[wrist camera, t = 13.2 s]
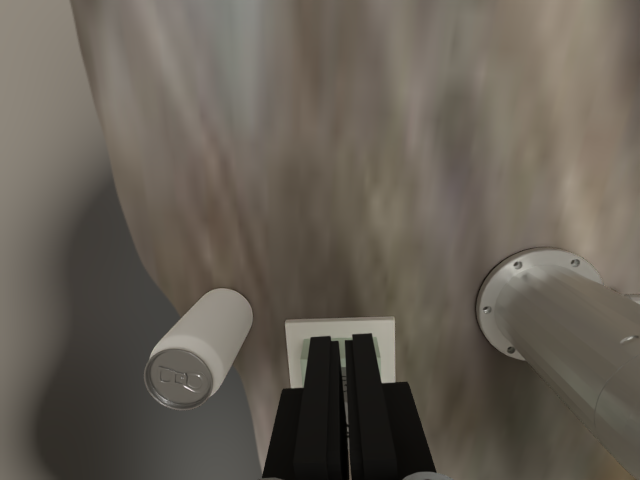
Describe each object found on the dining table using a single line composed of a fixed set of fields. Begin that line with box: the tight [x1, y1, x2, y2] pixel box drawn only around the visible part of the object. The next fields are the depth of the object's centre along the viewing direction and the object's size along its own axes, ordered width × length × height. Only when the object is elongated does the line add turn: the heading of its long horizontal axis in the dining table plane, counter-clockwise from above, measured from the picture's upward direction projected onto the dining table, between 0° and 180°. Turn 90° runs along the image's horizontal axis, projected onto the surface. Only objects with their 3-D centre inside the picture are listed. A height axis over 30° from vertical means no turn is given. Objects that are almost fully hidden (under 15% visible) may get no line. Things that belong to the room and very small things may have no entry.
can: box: [144, 288, 253, 410], centre depth 33 cm, size 6×6×12 cm
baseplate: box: [285, 316, 395, 388], centre depth 39 cm, size 12×12×1 cm
